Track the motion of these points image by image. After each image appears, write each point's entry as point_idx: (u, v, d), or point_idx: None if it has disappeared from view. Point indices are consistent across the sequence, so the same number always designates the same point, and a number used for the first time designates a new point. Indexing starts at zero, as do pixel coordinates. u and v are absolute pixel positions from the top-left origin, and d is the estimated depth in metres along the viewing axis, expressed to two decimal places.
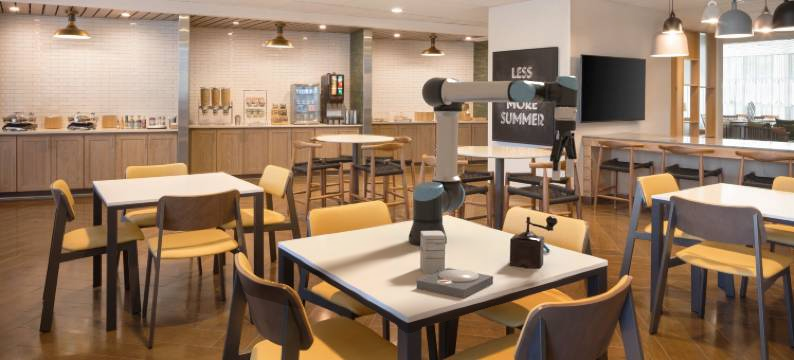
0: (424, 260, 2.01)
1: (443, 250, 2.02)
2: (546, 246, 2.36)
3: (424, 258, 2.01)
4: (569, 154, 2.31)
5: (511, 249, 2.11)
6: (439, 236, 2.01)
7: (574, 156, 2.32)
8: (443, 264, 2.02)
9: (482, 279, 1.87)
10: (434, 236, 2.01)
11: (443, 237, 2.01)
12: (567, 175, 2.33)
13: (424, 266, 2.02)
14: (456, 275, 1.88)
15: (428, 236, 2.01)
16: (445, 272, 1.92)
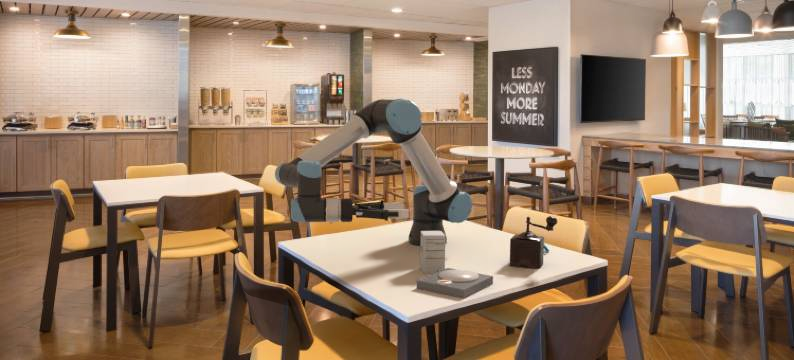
0: (424, 260, 2.01)
1: (443, 250, 2.02)
2: None
3: (424, 258, 2.01)
4: None
5: (511, 249, 2.11)
6: (439, 236, 2.01)
7: None
8: (443, 264, 2.02)
9: (482, 279, 1.87)
10: (434, 236, 2.01)
11: (443, 237, 2.01)
12: None
13: (424, 266, 2.02)
14: (456, 275, 1.88)
15: (428, 236, 2.01)
16: (445, 272, 1.92)
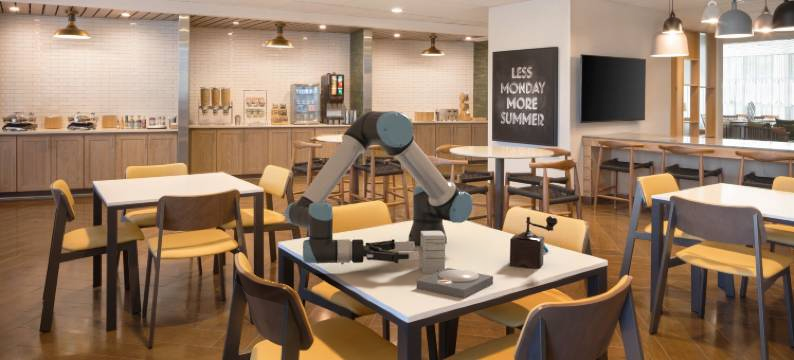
0: (424, 260, 2.01)
1: (443, 250, 2.02)
2: (546, 247, 2.36)
3: (424, 258, 2.01)
4: None
5: (511, 249, 2.11)
6: (439, 236, 2.01)
7: None
8: (443, 264, 2.02)
9: (482, 279, 1.87)
10: (434, 236, 2.01)
11: (443, 237, 2.01)
12: None
13: (424, 266, 2.02)
14: (456, 275, 1.88)
15: (428, 236, 2.01)
16: (445, 272, 1.92)
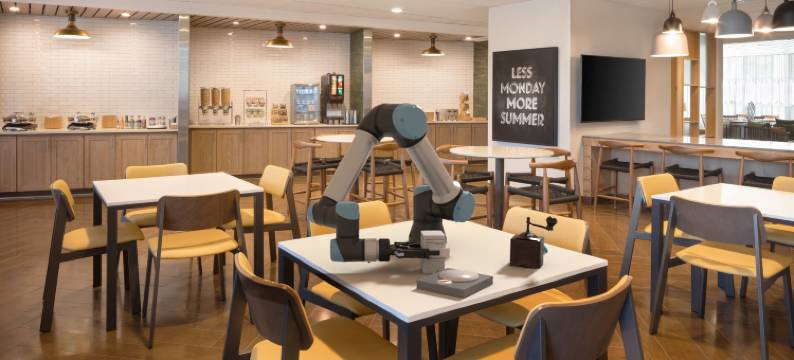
0: (424, 260, 2.01)
1: None
2: (544, 246, 2.36)
3: (424, 258, 2.01)
4: None
5: (511, 249, 2.11)
6: (439, 236, 2.01)
7: None
8: (443, 264, 2.02)
9: (482, 279, 1.87)
10: (434, 236, 2.01)
11: (443, 237, 2.01)
12: None
13: (424, 266, 2.02)
14: (456, 275, 1.88)
15: (428, 236, 2.01)
16: (445, 272, 1.92)
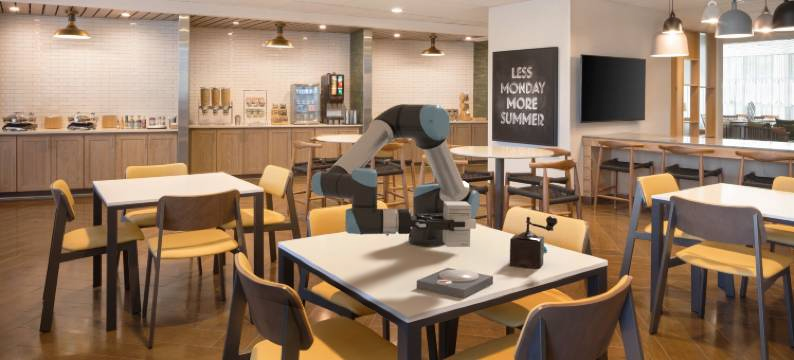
0: (448, 232, 1.85)
1: None
2: (544, 246, 2.36)
3: (448, 230, 1.84)
4: None
5: (511, 249, 2.11)
6: (464, 206, 1.84)
7: None
8: (468, 237, 1.85)
9: (482, 279, 1.87)
10: (459, 206, 1.84)
11: (469, 207, 1.84)
12: None
13: (448, 239, 1.85)
14: (456, 275, 1.88)
15: (452, 206, 1.84)
16: (445, 272, 1.92)
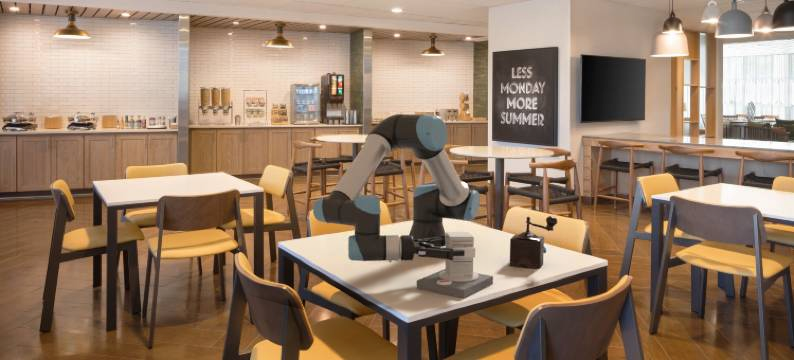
0: (451, 264, 1.85)
1: None
2: None
3: (451, 261, 1.85)
4: None
5: (511, 249, 2.11)
6: (467, 237, 1.84)
7: None
8: (471, 268, 1.86)
9: (482, 279, 1.87)
10: (462, 237, 1.84)
11: (471, 239, 1.85)
12: None
13: (451, 270, 1.85)
14: None
15: (455, 237, 1.84)
16: (445, 272, 1.92)
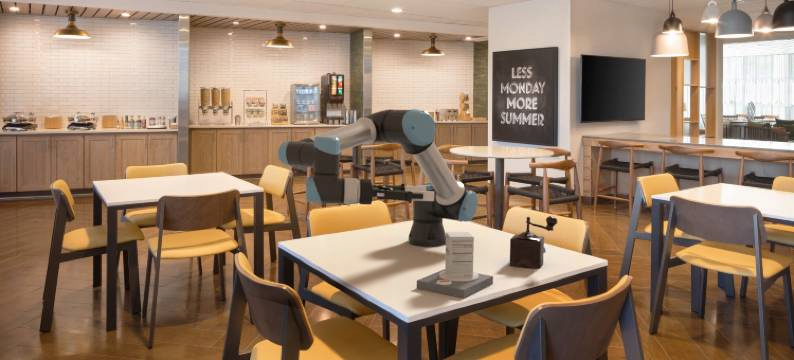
0: (451, 264, 1.85)
1: (471, 253, 1.85)
2: None
3: (451, 261, 1.85)
4: None
5: (511, 249, 2.11)
6: (467, 237, 1.84)
7: None
8: (471, 268, 1.86)
9: (482, 279, 1.87)
10: (462, 237, 1.84)
11: (471, 239, 1.85)
12: None
13: (451, 270, 1.85)
14: None
15: (455, 237, 1.84)
16: (445, 272, 1.92)
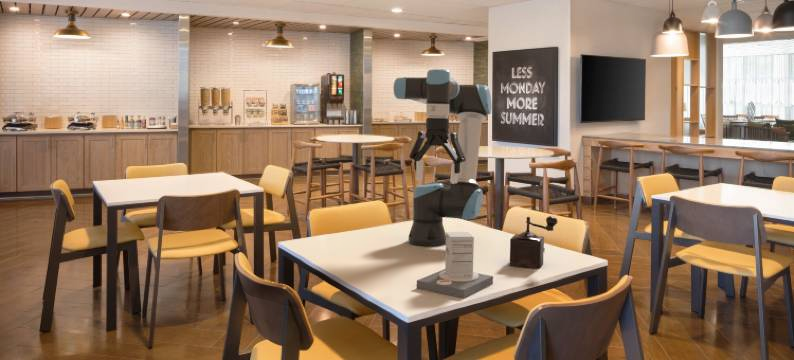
0: (451, 264, 1.85)
1: (471, 253, 1.85)
2: None
3: (451, 261, 1.85)
4: None
5: (511, 249, 2.11)
6: (467, 237, 1.84)
7: (455, 160, 2.01)
8: (471, 268, 1.86)
9: (482, 279, 1.87)
10: (462, 237, 1.84)
11: (471, 239, 1.85)
12: None
13: (451, 270, 1.85)
14: None
15: (455, 237, 1.84)
16: (445, 272, 1.92)
